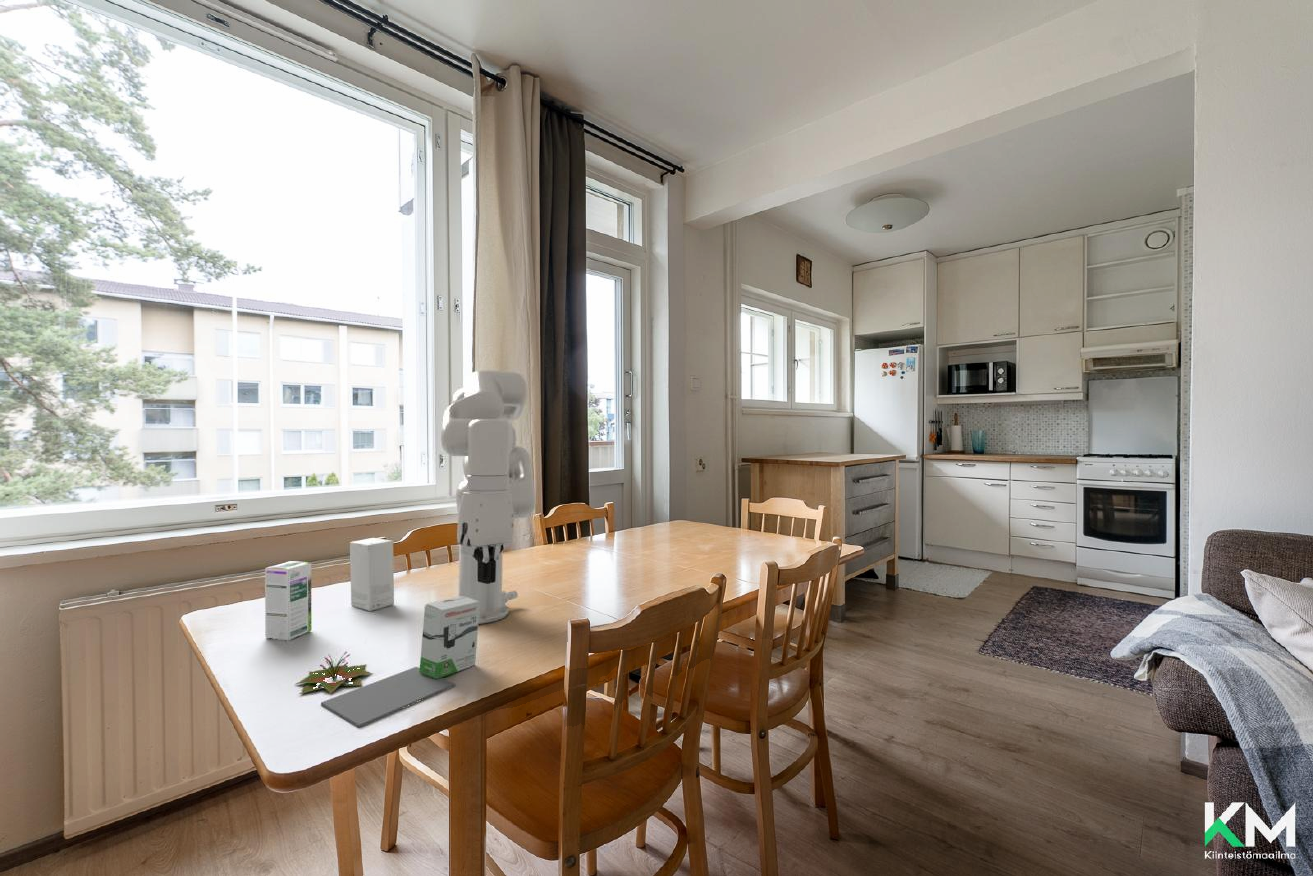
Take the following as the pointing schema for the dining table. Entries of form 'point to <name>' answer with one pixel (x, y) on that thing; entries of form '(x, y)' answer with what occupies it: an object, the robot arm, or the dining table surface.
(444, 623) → the ink box
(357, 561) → the skincare box
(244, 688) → the dining table surface
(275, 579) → the syrup box
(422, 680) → the mat
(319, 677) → the lily flower
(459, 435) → the robot arm
